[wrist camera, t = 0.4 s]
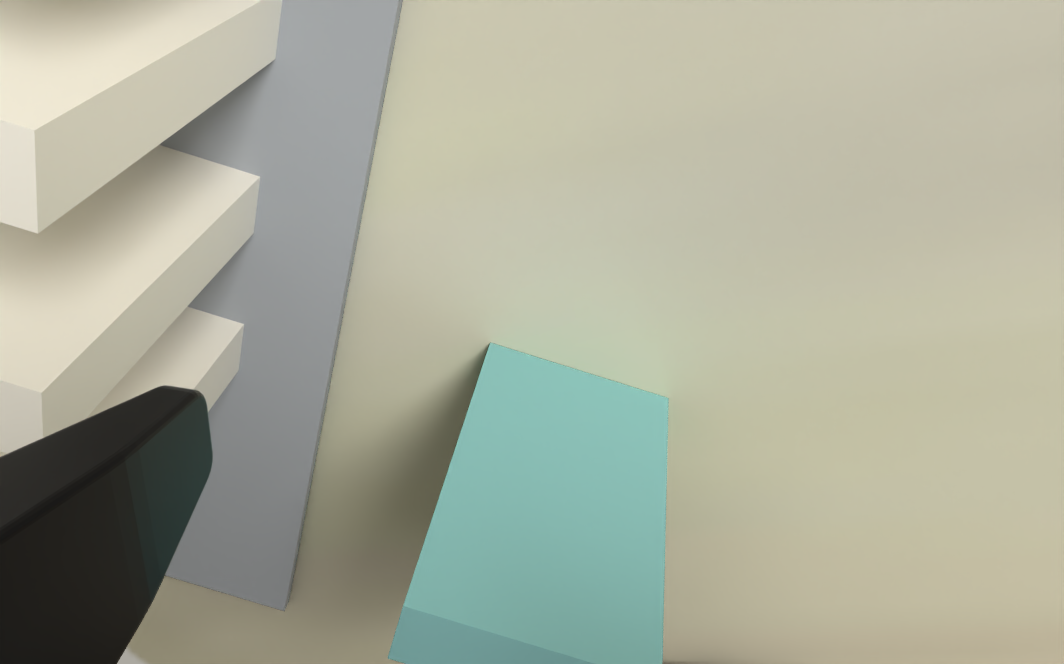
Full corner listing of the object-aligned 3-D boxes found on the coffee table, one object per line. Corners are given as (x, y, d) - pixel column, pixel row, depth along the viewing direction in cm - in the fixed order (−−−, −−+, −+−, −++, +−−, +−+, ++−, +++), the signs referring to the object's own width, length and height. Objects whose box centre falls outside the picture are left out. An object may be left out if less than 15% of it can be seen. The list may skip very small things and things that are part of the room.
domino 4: (648, 441, 25) (633, 732, 18) (476, 388, 25) (387, 658, 18) (668, 398, 24) (661, 684, 17) (490, 342, 24) (403, 606, 17)
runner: (288, 602, 31) (284, 611, 31) (3, 516, 31) (-5, 524, 30) (457, -291, 17) (453, -291, 17) (-69, -466, 17) (-84, -470, 16)
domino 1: (275, 58, 20) (37, 234, 13) (59, -10, 20) (-308, 126, 13) (284, -13, 20) (33, 130, 12) (58, -85, 19) (-337, 14, 12)
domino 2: (253, 233, 23) (43, 464, 15) (61, 172, 23) (-246, 377, 15) (260, 176, 22) (41, 392, 15) (60, 113, 22) (-266, 299, 14)
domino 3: (238, 370, 25) (51, 627, 18) (65, 316, 25) (-199, 553, 18) (243, 324, 25) (49, 574, 17) (64, 268, 24) (-214, 496, 17)
